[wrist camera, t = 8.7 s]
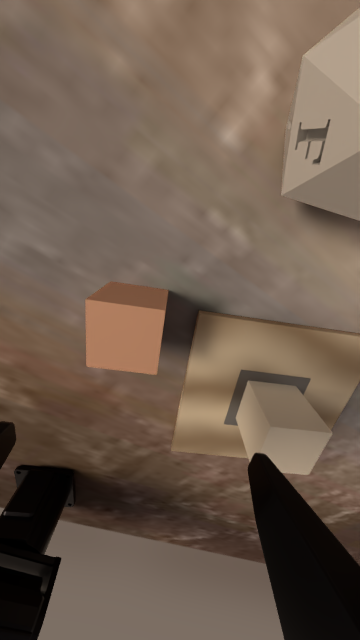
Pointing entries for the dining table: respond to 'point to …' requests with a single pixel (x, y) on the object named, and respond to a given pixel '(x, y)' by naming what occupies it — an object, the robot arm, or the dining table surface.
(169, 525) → the dining table surface
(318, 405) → the tan board
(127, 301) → the terracotta block
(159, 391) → the dining table surface
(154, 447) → the dining table surface
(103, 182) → the dining table surface
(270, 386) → the cream block
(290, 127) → the die
